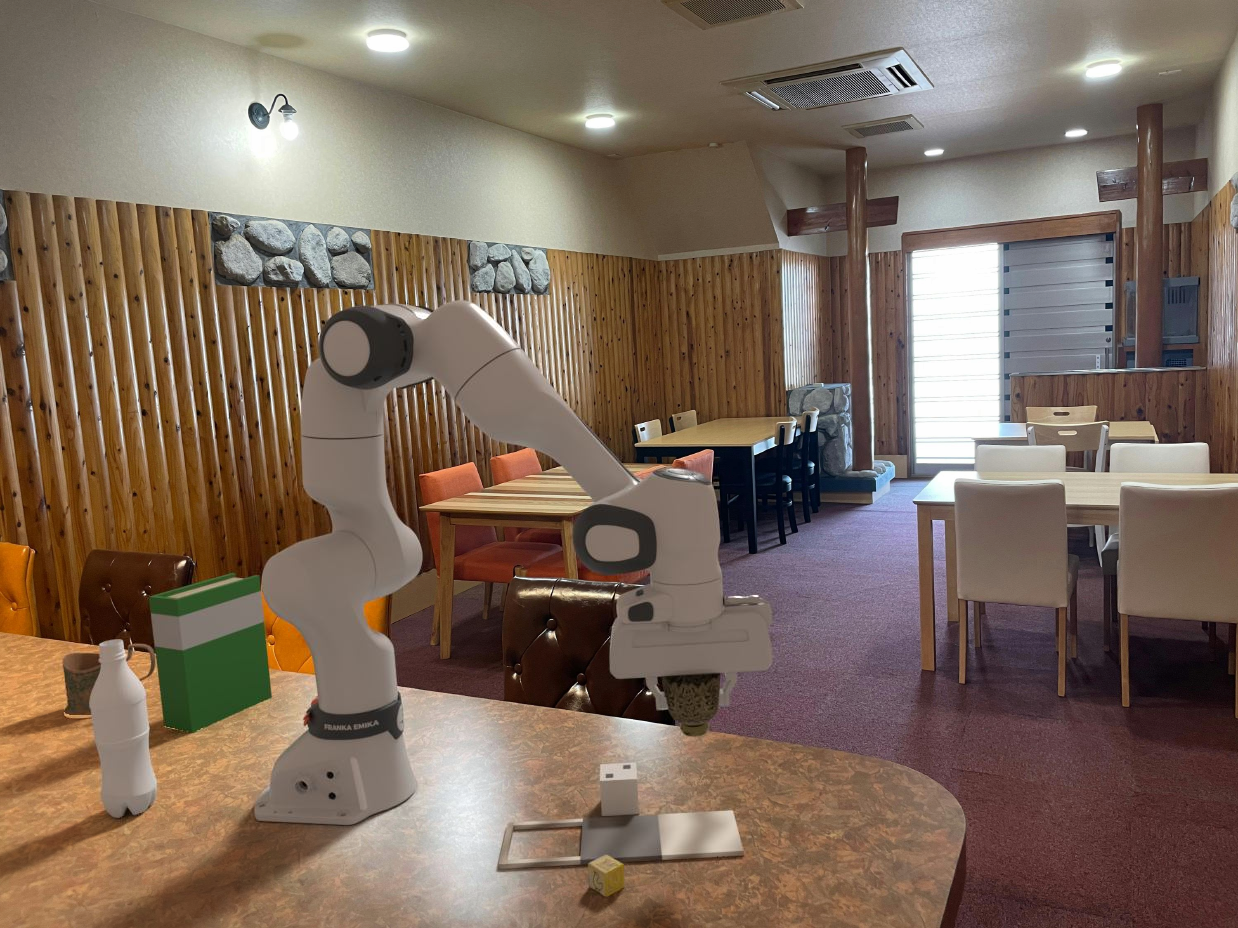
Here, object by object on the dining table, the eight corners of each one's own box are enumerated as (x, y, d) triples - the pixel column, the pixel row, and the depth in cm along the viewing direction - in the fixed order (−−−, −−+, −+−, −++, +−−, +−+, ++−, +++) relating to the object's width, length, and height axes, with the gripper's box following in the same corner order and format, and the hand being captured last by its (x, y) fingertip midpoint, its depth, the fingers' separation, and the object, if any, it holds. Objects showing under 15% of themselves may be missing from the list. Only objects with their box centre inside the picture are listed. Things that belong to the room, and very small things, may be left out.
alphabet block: (607, 876, 109) (606, 852, 108) (625, 886, 106) (624, 862, 106) (588, 887, 107) (586, 863, 106) (606, 898, 104) (604, 873, 104)
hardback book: (244, 692, 179) (232, 573, 176) (271, 697, 175) (259, 575, 172) (164, 727, 163) (148, 596, 160) (192, 733, 160) (176, 599, 157)
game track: (498, 868, 112) (498, 864, 111) (508, 826, 121) (507, 822, 121) (743, 855, 112) (743, 850, 111) (732, 814, 121) (732, 810, 121)
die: (601, 815, 123) (599, 780, 122) (602, 798, 128) (600, 763, 127) (639, 813, 123) (637, 778, 122) (637, 796, 128) (636, 761, 127)
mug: (143, 716, 169) (135, 653, 168) (49, 720, 169) (41, 658, 168) (174, 693, 181) (167, 634, 179) (86, 697, 181) (78, 638, 180)
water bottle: (170, 800, 135) (150, 636, 132) (130, 824, 128) (108, 652, 125) (133, 794, 137) (113, 633, 134) (91, 818, 130) (69, 649, 127)
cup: (720, 746, 110) (715, 682, 109) (660, 744, 112) (655, 681, 111) (727, 721, 117) (723, 661, 117) (671, 719, 119) (667, 661, 118)
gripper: (766, 587, 116) (771, 692, 118) (606, 597, 116) (612, 701, 118) (775, 600, 110) (779, 711, 111) (605, 610, 110) (612, 720, 111)
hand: (692, 706), depth 114 cm, fingers closed on cup, 6 cm apart
